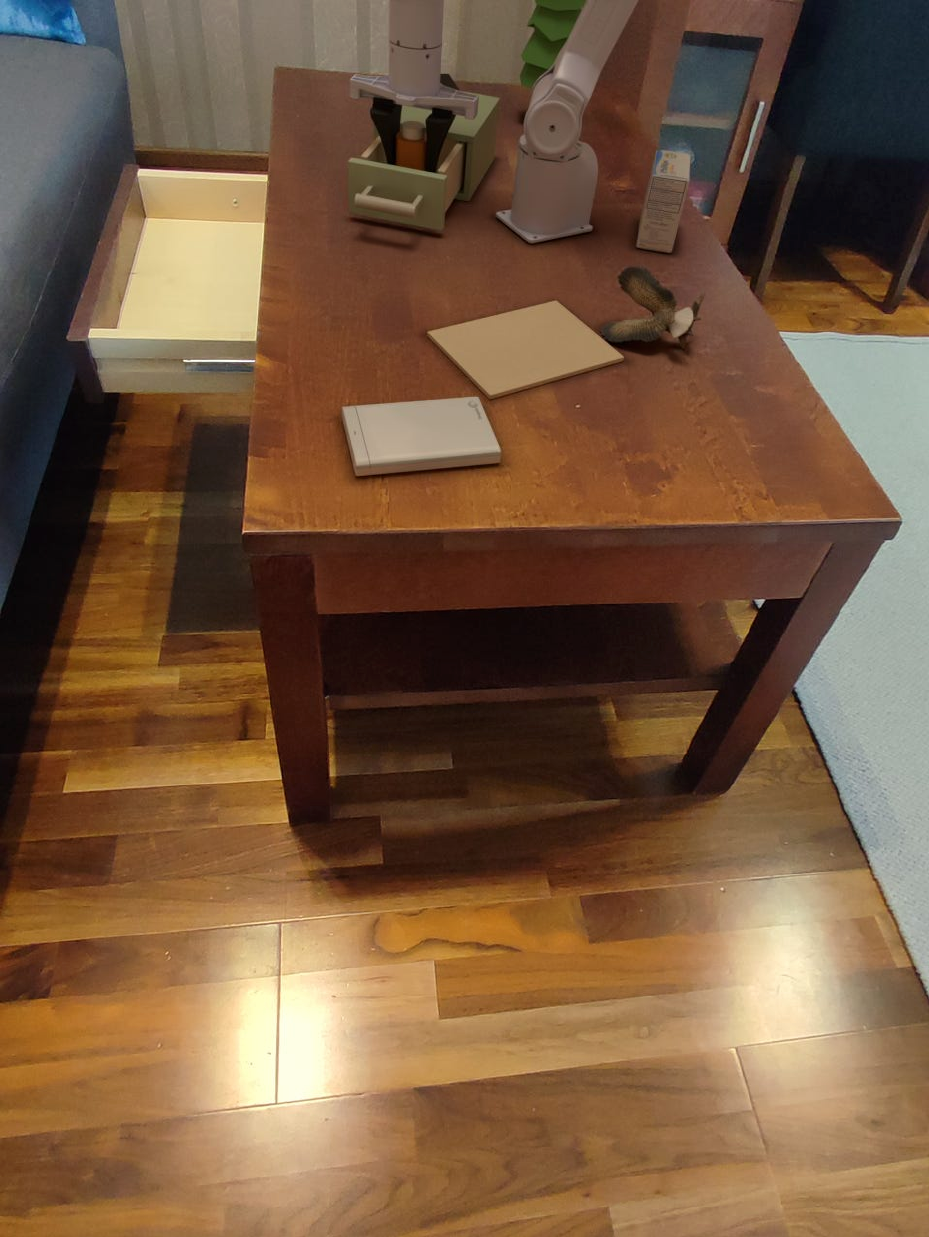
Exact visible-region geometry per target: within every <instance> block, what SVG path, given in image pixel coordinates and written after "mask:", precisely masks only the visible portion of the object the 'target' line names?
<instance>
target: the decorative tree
mask: <svg viewBox="0 0 929 1237" xmlns="http://www.w3.org/2000/svg"><path fill="white" fill-rule="evenodd" d="M586 1H587V0H534V3H535V5H536V6H535V8H534V10H533V12H532V14H531V16H530V18H529V20H528V23H527V24H526V27H528V28H529V27H530V28H533V32H532V34H531V35H530V38H529V39H528V40H527V43H526V45H525V46H524V48H523V50H522V52H521V53H520V57H521V59H522V62H524V64H523V66H522V69H521V72H520V74H519V80H520V84H521V86H523V87H526V88H529V89H531V90H532V88H533V86H534V84H535V82H536V81H537V79H538V78H539V77H540V76H541V75H543V74H544V73H545V72H547V71H548V70H549V69H550V68H551V67H552V65H553V64H554V62H555V60H556V58H557V56H558V54H559V52H560V51H561V49H562V47H563V46H564V44H565V43H566V41H567V39H568V37H569V35H570V33H571V31H572V29H573V27H574V25H575V23H576V21H577V19H578V17H579V15H580V13H581V11H582V9H583V7H584V5H585V3H586Z"/></svg>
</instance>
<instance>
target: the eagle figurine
mask: <svg viewBox="0 0 929 1237" xmlns="http://www.w3.org/2000/svg"><path fill="white" fill-rule="evenodd" d="M616 278H617V279H618V284H619V285H620V289H621V290H622V291H623V292H624V293H626V294H627V295H628V296H629V297H630V298H631V299H632V300H633V301H634V302H635V303H636V304H637V305H639V306H641V307H643V308H645V309H646V310H647V311H649V312H650V313H651V314H652V315H651V316H650V317H649V316H648V317H642V318H628V319H624V320H622V321H611V322H610V323H606V324H605V326H602V327H600V330H599V332H600V335H601V336H603V337H604V340H607V341H608V342H611V343H623V342H631V341H640V340H641V342H645V343H649V342H652V341H657V340H658V339H659V338H660V336H661V335H663V334H664V332H666V333H669V334H671V337H672V338H673V339H678V341H679V346H680V348H681V349H682V350H684V349H685V348H686V344H687V340H688V336H690V337H693V336H694V333H693V330H692V328H693V326H694V323H695V322H696V321H701V320H702V318H701V317H700V316H698V315H699V312H700V309H701V306H702V303H703V300H704V298H705V296H706V293H705V292H702V293H701V294H700V296H699V297H697V300H694V301H693V303H692V305H691V307H690V306H686V307H684V308H682V309H679V310H677V311H675V309H676V306H677V299H676V297H675V295H674V292H672V290H671V288H666V286H663V285H662V284H661V283H660V280H658V279H656V278H655V276H654V275H653V274H652V272H651V270H650V269H647V267H643V266H641V267H640V266H635V265H633V266H632V265H628V267H625V268H624V269H623V270H621V271H620V273H619V274H618V275H617V276H616Z"/></svg>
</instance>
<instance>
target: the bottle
mask: <svg viewBox="0 0 929 1237" xmlns="http://www.w3.org/2000/svg"><path fill="white" fill-rule="evenodd" d="M426 157H427V138H426V133H425V125H424V124H423V123H421V122H417V121H406V122H404V123H403V124H402V131H400V132H398V133H397V134H396V166H399V167H405V168H410V169H415V170H421V171H425V168H426Z"/></svg>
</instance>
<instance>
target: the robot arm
mask: <svg viewBox="0 0 929 1237" xmlns="http://www.w3.org/2000/svg"><path fill="white" fill-rule="evenodd" d="M638 2H639V0H587V1H586V3H585V5H584V6H583V7H582V8H581V9H582V11H581V13H580V15H579V17H578V19H577V21H576V23H575V25H574V27H573V29H572V31H571V33H570V35H569V37H568V39H567V41H566V43H565V44H564V46H563V47H562V49H561V51H560V52H559V54H558V56H557V58H556V60H555V62H554V64H553V65H552V67H551V68H550V69H549V70H548V71H547V72H545V73H544V74H543V75H541V76H540V77H539V78H538V79H537V81H536V82H535V84H534V86H533V88H532V89H531V91H530V95H529V105H528V108H527V111H526V112H525V116H524V119H523V134H522V135H521V136H520V137H519V139H518V140H519V141H518V147H517V148H518V149H517V158H516V164H515V165H516V166H515V175H514V183H513V191H512V199H511V208H510V209H506V210H501V211H496V213H495V217H496V218H497V219H498V220H499V221H501V222H502V223H503V224H505V226H507V227H508V228H510V230H512V231H513V232H515V233H516V234H517V235H518V236H519V237H521V238H522V239H523V240H525V241H526V242H527V243H529V244H537V243H541V242H546V241H550V240H551V241H552V240H555V239H561V238H566V237H569V236H575V235H580V234H584V233H589V232H592V231H593V225H591V224H590V221H591V215H592V211H593V210H592V209H593V204H594V200H595V195H596V188H597V185H598V184H597V183H598V179H599V178H598V177H599V164H598V158H597V155H596V152H595V150H594V149H593V148H592V146H591V145H590V144H588V143H587V142H583V141H581V140H580V137H581V133H582V127H583V126H582V125H583V117H584V116H583V115H584V113H585V111H586V108H587V106H588V104H589V102H590V101H591V98H592V96H593V93H594V90H595V88H596V85H597V82H598V81H599V78H600V75H601V73H602V70H603V69H604V66H606V63H607V61H608V59H609V57H610V55H611V53H612V52H613V49H614V48H615V46H616V44H617V42H618V40H619V38H620V37H621V35H622V33H623V30H624V29H625V27H626V25H627V23H628V22H629V19H630V18H631V15H632V14H633V12H634V10H635V8H636V7H637V4H638ZM388 3H389V4H388V76H379V75H364V74H358V73H355V74H354V75H353V76H352V77H351V78H349V98H350V99H351V100H352V99H353V100H360V99H365V100H370V101H372V105H371V106H372V107H371V108H370V109H369V116H370V119H371V121H372V123H373V126H374V125H375V127H376V129H377V131H378V133H379V136H380V139H381V141H382V144H383V148H384V151H385V155H386V160H387V164H389V165H394V166H396V134H397V133H398V132H400V121H401V112H402V105H404V106H410V107H415V108H421V109H426V110H432V113H431V114H430V115H429V116H428V117H427V118H426V120H425V125H426V138H427V157H426V168H425V171H426V172H431V173H436V168H437V163H438V159H439V156H440V152H441V149H442V146H443V144H444V141H445V138H446V136H447V134H448V131H449V129H450V127H451V125H452V123H453V121H454V119H455V117H456V115H460V116H465V119H470V120H474V118H475V117H476V116H477V114H478V101H479V96H478V95H473V94H469V93H470V92H469V93H465V92H466V91H464V92H462V91H463V90H460V89H459V90H460V91H459V90H456V89H452V88H449V87H446V86H443V85H440V74H442V72H441V70H442V53H443V52H442V51H443V30H444V29H443V26H444V7H445V6H444V5H445V0H388Z"/></svg>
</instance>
